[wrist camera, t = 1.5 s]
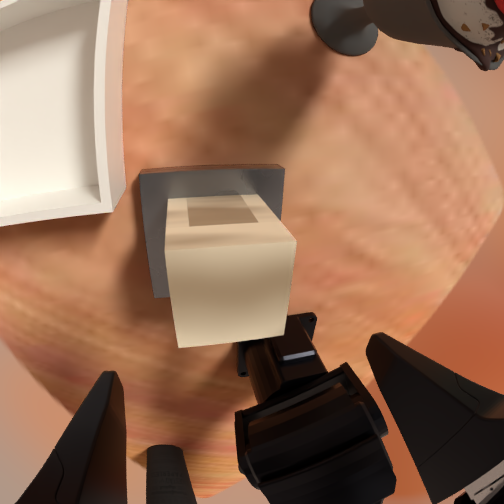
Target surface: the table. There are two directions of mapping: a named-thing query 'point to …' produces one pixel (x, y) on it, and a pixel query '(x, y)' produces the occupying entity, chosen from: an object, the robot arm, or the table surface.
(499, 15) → the sundae
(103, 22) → the bin
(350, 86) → the table surface
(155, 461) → the drinking cup
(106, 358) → the table surface
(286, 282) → the socket block
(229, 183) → the stud plate
